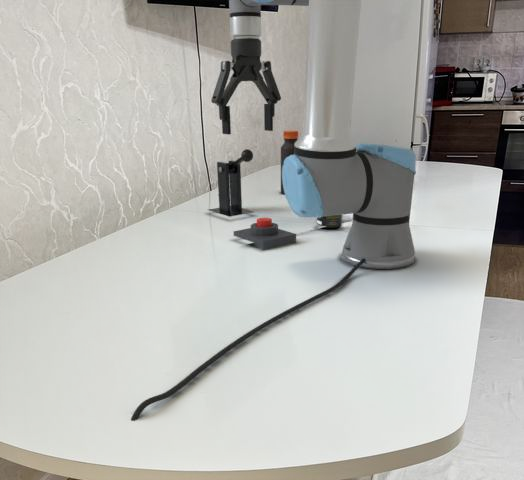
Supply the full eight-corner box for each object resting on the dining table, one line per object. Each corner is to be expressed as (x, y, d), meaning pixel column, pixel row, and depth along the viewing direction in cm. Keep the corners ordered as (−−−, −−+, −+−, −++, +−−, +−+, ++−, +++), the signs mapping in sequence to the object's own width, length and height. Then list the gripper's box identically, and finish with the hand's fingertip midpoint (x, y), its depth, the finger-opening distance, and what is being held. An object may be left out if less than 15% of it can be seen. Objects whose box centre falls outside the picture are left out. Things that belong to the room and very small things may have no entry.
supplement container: (347, 228, 138) (349, 187, 133) (326, 232, 134) (328, 190, 130) (331, 223, 143) (332, 183, 138) (311, 227, 140) (312, 186, 135)
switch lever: (256, 158, 140) (253, 146, 139) (247, 159, 138) (243, 147, 138) (232, 175, 151) (229, 164, 150) (223, 176, 149) (220, 165, 149)
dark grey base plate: (296, 242, 126) (296, 226, 124) (263, 250, 121) (262, 233, 119) (265, 233, 135) (265, 217, 133) (233, 240, 129) (232, 224, 127)
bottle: (278, 194, 181) (278, 132, 172) (282, 190, 187) (282, 130, 178) (298, 194, 180) (299, 132, 171) (301, 191, 186) (302, 130, 177)
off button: (274, 226, 126) (274, 219, 125) (262, 229, 124) (262, 221, 123) (265, 224, 128) (265, 216, 127) (253, 226, 126) (253, 219, 125)
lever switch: (255, 216, 152) (254, 162, 146) (229, 220, 148) (227, 165, 141) (232, 209, 161) (229, 158, 154) (207, 213, 156) (203, 161, 149)
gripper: (276, 40, 137) (276, 128, 147) (193, 38, 124) (200, 134, 134) (294, 38, 132) (293, 130, 142) (210, 35, 119) (215, 136, 128)
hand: (248, 132), depth 138 cm, fingers open, 13 cm apart
